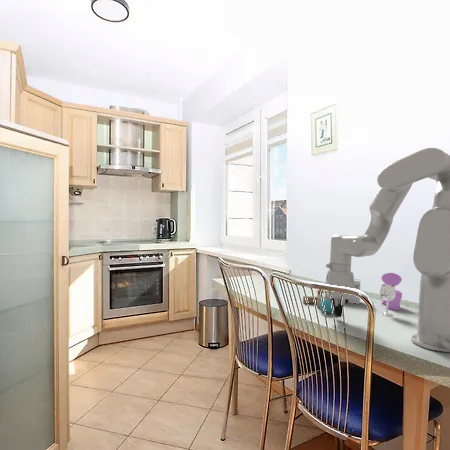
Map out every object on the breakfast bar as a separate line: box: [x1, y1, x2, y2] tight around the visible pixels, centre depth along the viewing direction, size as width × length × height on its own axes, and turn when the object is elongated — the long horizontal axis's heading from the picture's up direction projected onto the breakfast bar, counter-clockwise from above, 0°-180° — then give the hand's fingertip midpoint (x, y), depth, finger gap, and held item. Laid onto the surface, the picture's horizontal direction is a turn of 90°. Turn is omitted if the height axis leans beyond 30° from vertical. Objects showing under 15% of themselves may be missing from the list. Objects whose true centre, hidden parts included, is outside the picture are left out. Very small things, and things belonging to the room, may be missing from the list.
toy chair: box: [381, 272, 403, 311], centre depth 149 cm, size 8×9×15 cm
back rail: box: [302, 295, 340, 305], centre depth 149 cm, size 2×16×3 cm, turn 89°
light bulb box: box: [348, 278, 361, 305], centre depth 156 cm, size 11×7×11 cm, turn 69°
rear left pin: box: [316, 289, 325, 310], centre depth 143 cm, size 2×2×8 cm
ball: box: [320, 299, 334, 314], centre depth 135 cm, size 6×6×6 cm
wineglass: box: [379, 283, 396, 317], centre depth 136 cm, size 6×6×12 cm
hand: (337, 315), depth 126 cm, fingers closed
